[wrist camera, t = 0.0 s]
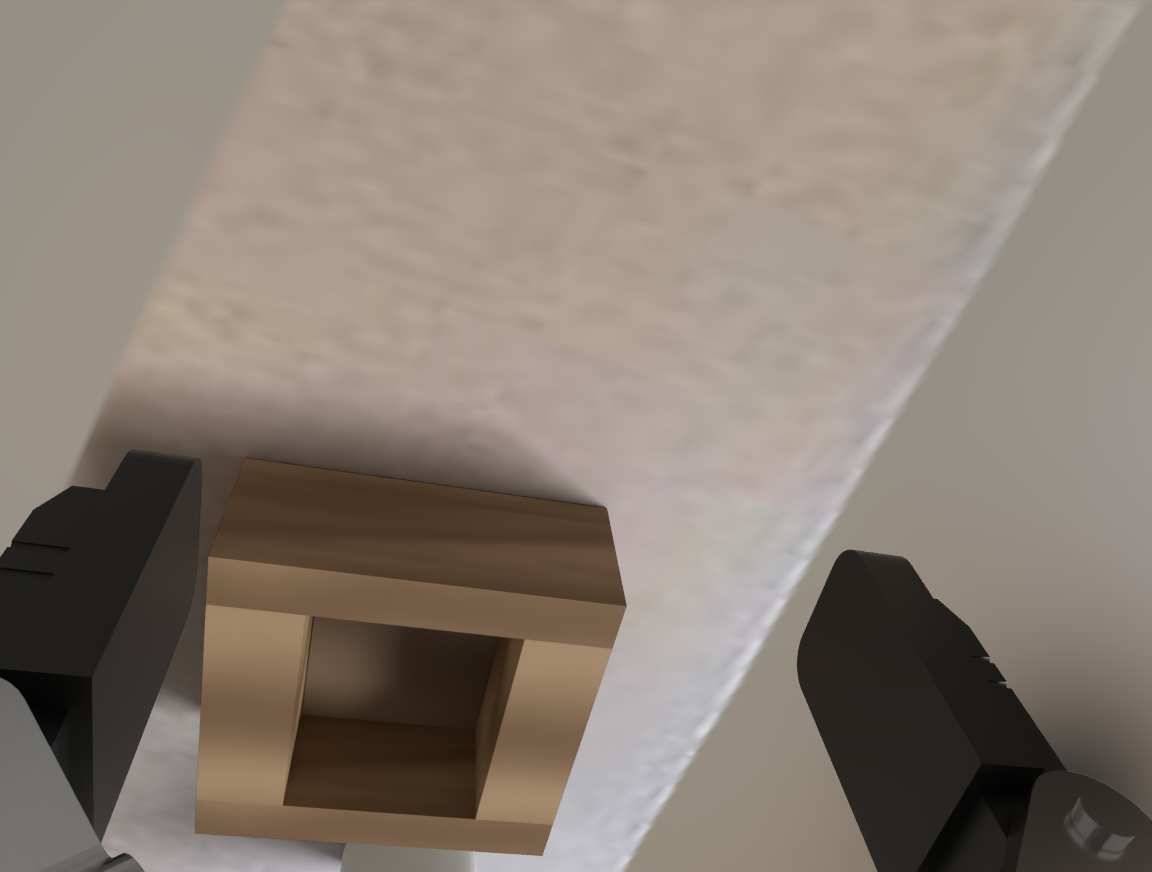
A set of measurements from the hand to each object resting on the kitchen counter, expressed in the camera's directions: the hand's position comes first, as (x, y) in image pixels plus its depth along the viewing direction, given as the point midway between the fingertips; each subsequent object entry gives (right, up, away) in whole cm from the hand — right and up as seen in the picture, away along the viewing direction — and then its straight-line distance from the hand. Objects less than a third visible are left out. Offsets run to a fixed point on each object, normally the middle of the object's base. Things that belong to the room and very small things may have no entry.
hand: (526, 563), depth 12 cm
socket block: (-6, -5, +23) cm, 24 cm away
